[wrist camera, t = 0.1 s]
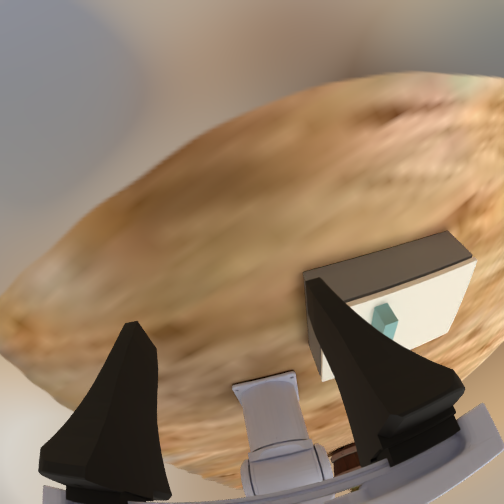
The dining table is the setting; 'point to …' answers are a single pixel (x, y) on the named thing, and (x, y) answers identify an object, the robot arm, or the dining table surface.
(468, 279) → the lid
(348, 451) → the flowerpot
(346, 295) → the grey sliding-lid box
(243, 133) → the dining table surface
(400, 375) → the robot arm
